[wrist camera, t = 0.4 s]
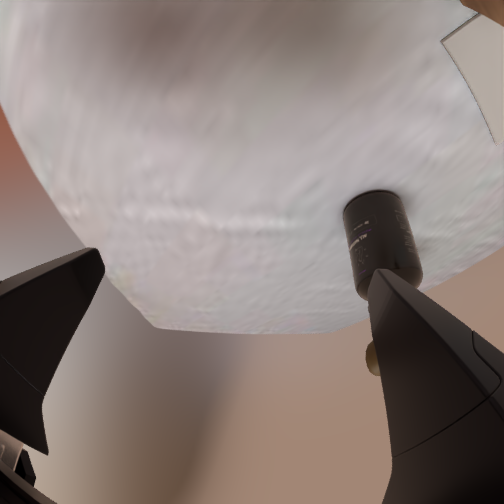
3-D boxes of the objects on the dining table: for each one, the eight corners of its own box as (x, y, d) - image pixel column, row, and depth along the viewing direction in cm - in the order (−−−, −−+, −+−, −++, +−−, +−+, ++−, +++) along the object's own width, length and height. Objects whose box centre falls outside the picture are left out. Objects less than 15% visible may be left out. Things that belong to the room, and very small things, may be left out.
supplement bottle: (338, 196, 26) (361, 319, 20) (403, 184, 24) (441, 302, 18) (344, 232, 31) (360, 334, 25) (398, 222, 29) (423, 322, 23)
